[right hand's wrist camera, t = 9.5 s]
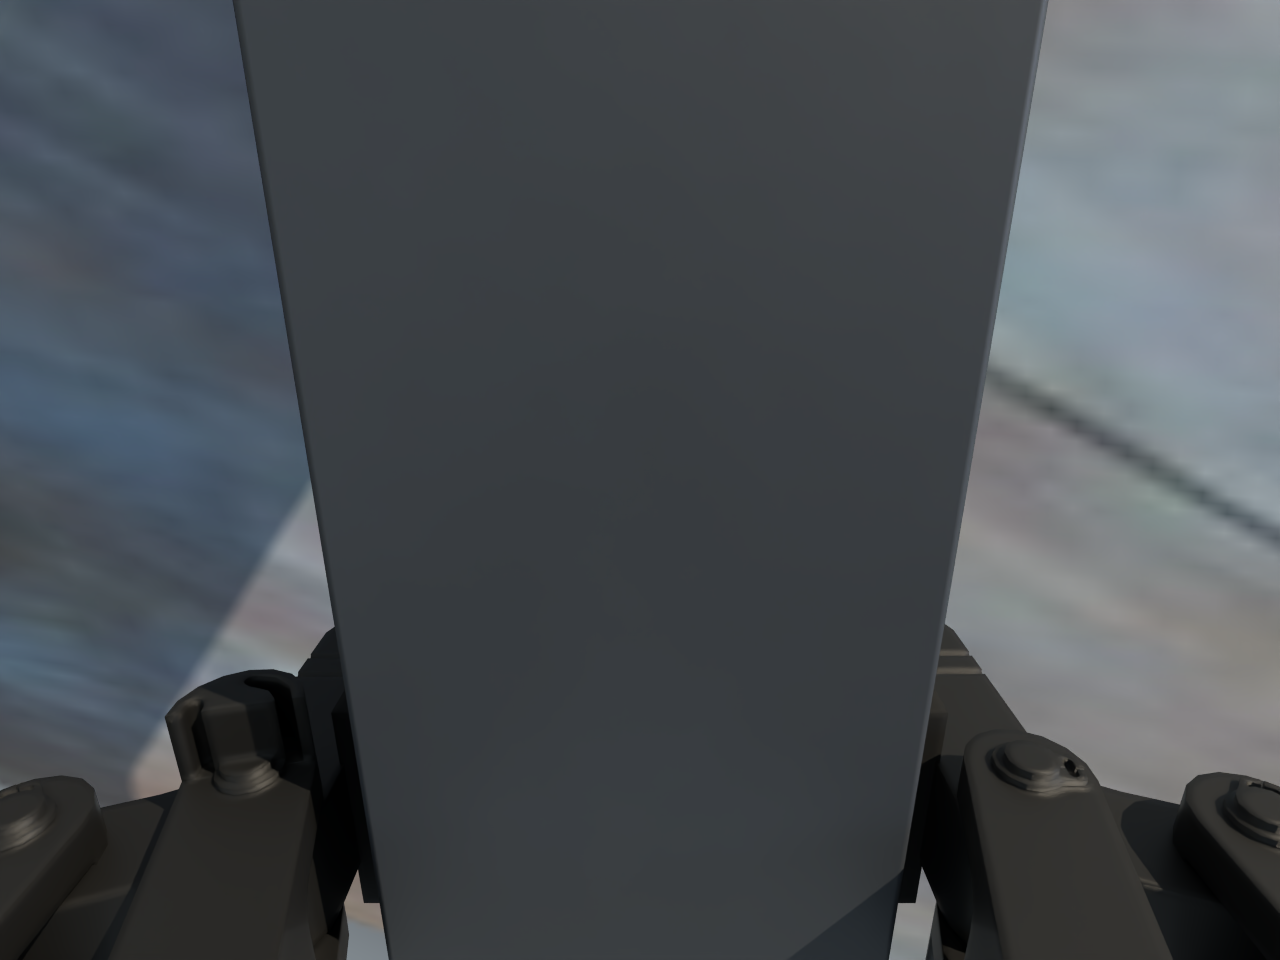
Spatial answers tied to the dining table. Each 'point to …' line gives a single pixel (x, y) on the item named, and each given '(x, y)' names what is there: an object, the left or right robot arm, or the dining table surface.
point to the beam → (639, 441)
